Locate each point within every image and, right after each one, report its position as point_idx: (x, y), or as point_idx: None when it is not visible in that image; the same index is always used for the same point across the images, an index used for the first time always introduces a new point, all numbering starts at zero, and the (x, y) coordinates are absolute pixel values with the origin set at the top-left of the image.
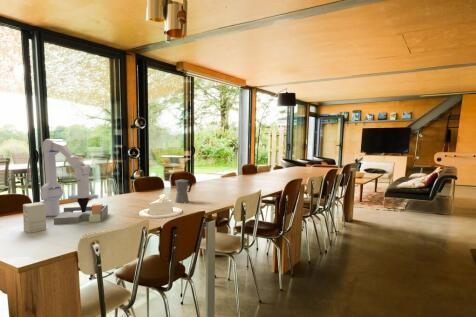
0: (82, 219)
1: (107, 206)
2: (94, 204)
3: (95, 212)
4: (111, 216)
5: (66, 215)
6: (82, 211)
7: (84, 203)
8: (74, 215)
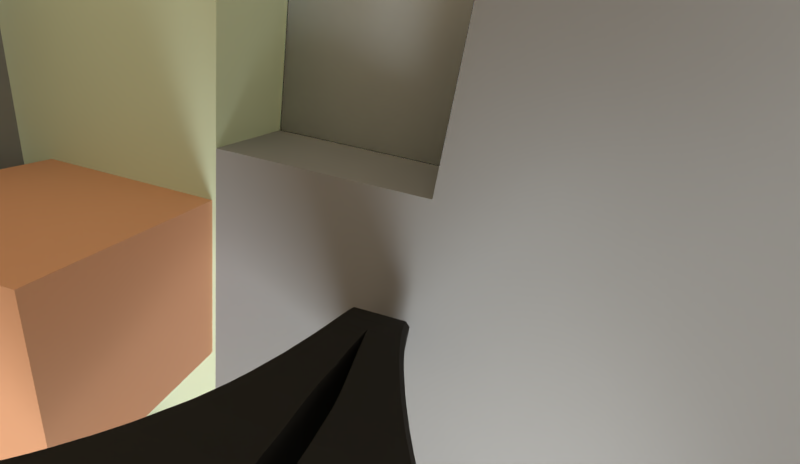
0: (421, 166)
1: None
2: (3, 416)
3: (124, 188)
4: None
5: (794, 305)
6: (390, 325)
7: (174, 457)
8: (588, 201)
